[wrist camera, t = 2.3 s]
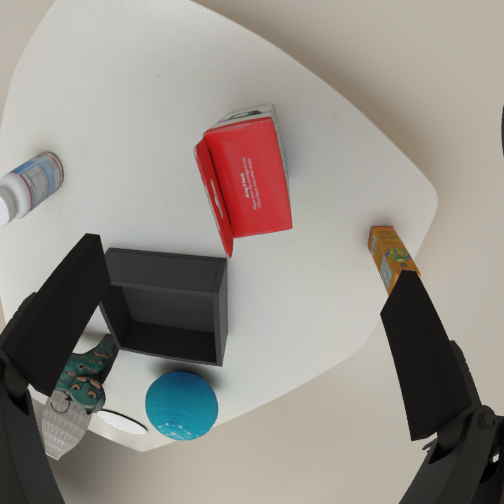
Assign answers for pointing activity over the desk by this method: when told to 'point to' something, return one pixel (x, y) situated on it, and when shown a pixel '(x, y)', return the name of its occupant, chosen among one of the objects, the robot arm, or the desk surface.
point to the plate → (121, 422)
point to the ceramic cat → (88, 376)
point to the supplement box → (389, 255)
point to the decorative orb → (181, 405)
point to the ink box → (245, 175)
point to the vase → (62, 425)
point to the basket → (167, 305)
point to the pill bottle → (28, 186)
